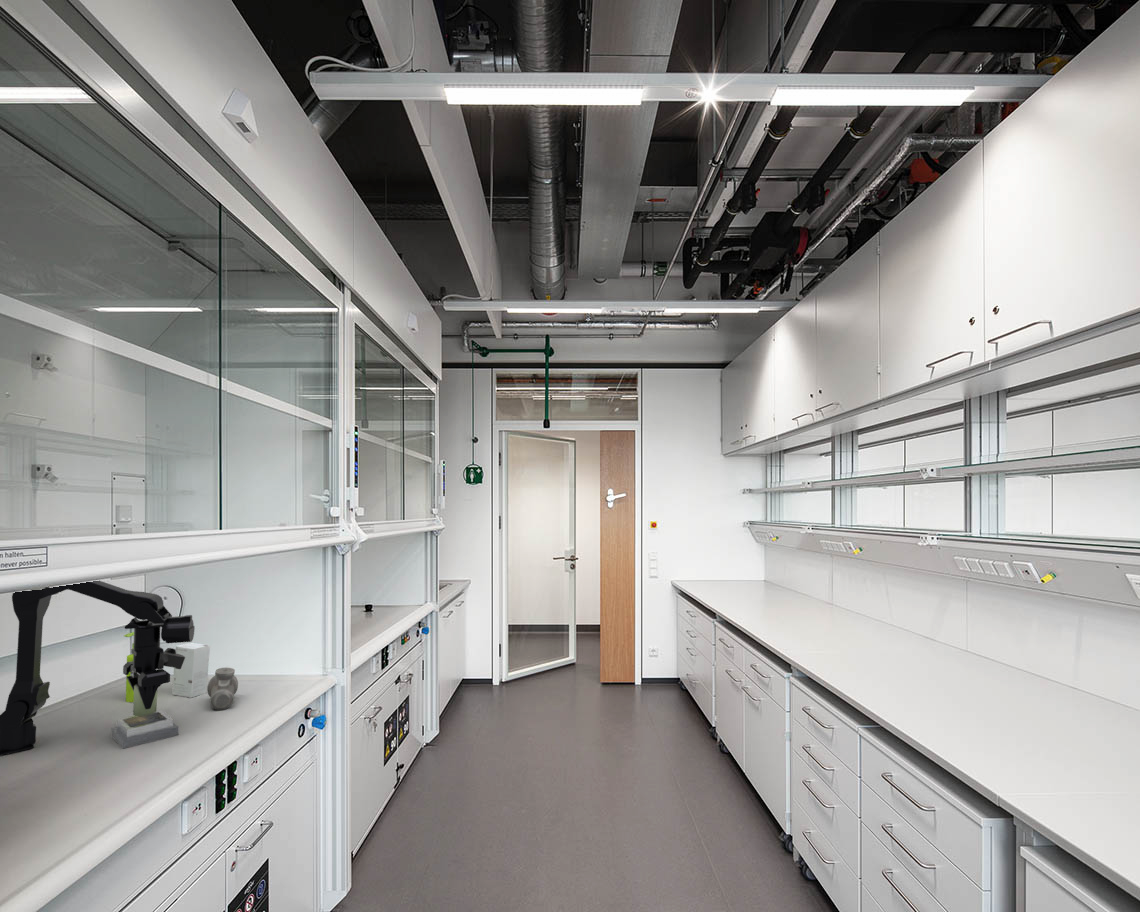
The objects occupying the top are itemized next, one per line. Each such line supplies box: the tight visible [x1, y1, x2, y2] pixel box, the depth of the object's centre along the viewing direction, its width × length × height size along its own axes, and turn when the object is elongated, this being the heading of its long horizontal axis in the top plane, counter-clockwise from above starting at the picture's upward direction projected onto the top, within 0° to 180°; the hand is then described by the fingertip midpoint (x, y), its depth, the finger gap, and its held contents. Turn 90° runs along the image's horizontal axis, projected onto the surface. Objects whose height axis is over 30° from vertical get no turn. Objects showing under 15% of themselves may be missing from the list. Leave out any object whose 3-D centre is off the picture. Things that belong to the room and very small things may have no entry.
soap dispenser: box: [123, 631, 134, 703], centre depth 196 cm, size 6×7×20 cm
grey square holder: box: [110, 709, 180, 749], centre depth 167 cm, size 12×12×4 cm
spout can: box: [132, 685, 158, 716], centre depth 167 cm, size 5×5×9 cm
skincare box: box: [171, 642, 211, 699], centre depth 201 cm, size 8×6×15 cm
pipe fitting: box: [207, 666, 239, 711], centre depth 190 cm, size 12×8×10 cm
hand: (145, 706), depth 167 cm, fingers closed on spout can, 5 cm apart
